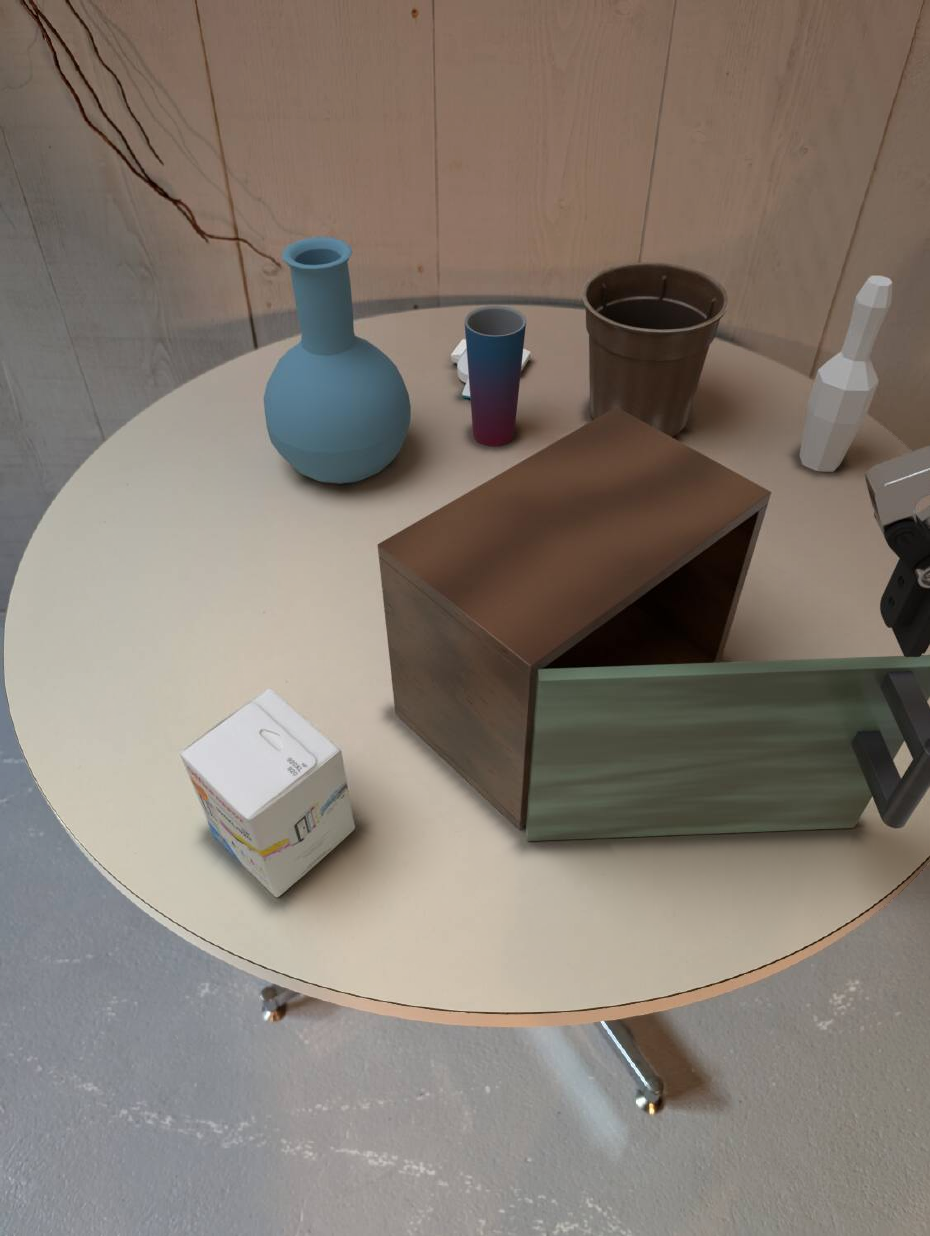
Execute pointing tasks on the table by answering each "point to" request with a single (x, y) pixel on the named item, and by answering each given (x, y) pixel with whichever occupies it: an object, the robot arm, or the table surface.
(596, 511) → the cupboard
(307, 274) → the vase
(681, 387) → the plant pot
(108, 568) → the table surface
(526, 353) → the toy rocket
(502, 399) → the cup
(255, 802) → the ink box
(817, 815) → the cupboard door
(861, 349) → the low poly bottle
